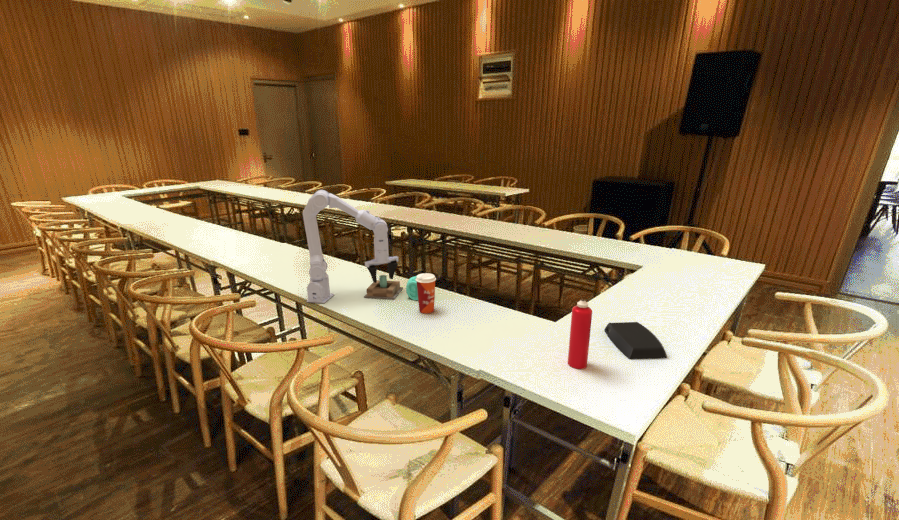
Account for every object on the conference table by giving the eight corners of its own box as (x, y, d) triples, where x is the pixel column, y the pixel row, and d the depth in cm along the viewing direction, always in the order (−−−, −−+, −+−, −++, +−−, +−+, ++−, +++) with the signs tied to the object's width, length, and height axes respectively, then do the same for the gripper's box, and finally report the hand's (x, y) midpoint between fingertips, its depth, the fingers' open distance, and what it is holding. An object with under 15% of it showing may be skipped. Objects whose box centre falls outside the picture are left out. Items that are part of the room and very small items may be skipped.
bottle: (565, 365, 121) (570, 301, 116) (571, 357, 126) (576, 295, 120) (583, 371, 119) (590, 305, 113) (589, 362, 123) (595, 299, 117)
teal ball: (432, 295, 175) (432, 277, 173) (423, 302, 168) (422, 283, 166) (415, 292, 178) (415, 274, 176) (406, 299, 171) (405, 280, 169)
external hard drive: (639, 330, 143) (641, 319, 142) (669, 359, 125) (671, 347, 124) (601, 331, 143) (603, 320, 142) (626, 361, 125) (627, 348, 123)
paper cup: (427, 316, 155) (427, 280, 151) (412, 311, 159) (411, 276, 155) (441, 309, 161) (440, 275, 156) (425, 304, 165) (424, 271, 161)
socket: (394, 299, 170) (393, 291, 169) (363, 298, 173) (363, 289, 171) (402, 288, 183) (402, 280, 182) (374, 286, 185) (374, 279, 184)
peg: (386, 293, 176) (385, 277, 174) (379, 292, 176) (378, 277, 174) (388, 290, 179) (387, 275, 177) (381, 290, 179) (380, 274, 177)
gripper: (392, 244, 179) (393, 274, 183) (360, 249, 171) (363, 281, 175) (400, 248, 174) (401, 278, 177) (368, 253, 166) (370, 285, 169)
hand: (383, 280), depth 176 cm, fingers open, 7 cm apart
